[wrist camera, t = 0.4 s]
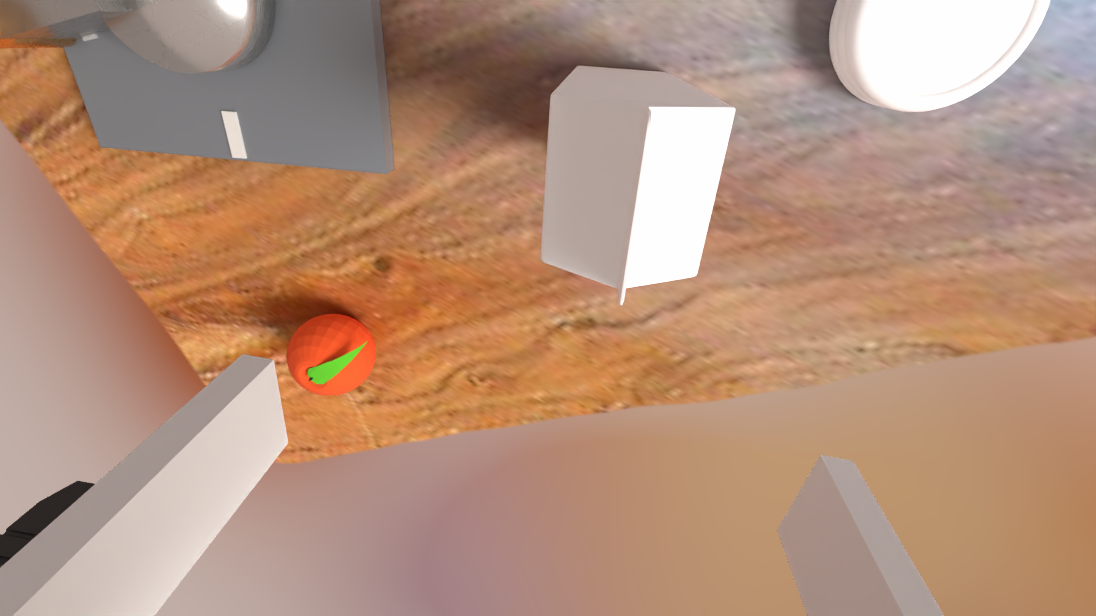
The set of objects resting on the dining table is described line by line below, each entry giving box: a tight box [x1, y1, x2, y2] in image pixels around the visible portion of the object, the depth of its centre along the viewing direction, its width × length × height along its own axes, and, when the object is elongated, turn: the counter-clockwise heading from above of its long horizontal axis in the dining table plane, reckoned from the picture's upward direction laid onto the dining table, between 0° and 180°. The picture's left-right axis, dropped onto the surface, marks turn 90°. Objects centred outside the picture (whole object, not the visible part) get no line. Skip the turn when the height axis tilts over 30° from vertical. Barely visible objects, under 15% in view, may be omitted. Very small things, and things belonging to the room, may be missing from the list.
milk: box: [541, 66, 735, 305], centre depth 24 cm, size 6×6×22 cm
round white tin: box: [829, 0, 1050, 112], centre depth 28 cm, size 10×10×4 cm
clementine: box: [286, 314, 375, 395], centre depth 41 cm, size 8×7×7 cm
